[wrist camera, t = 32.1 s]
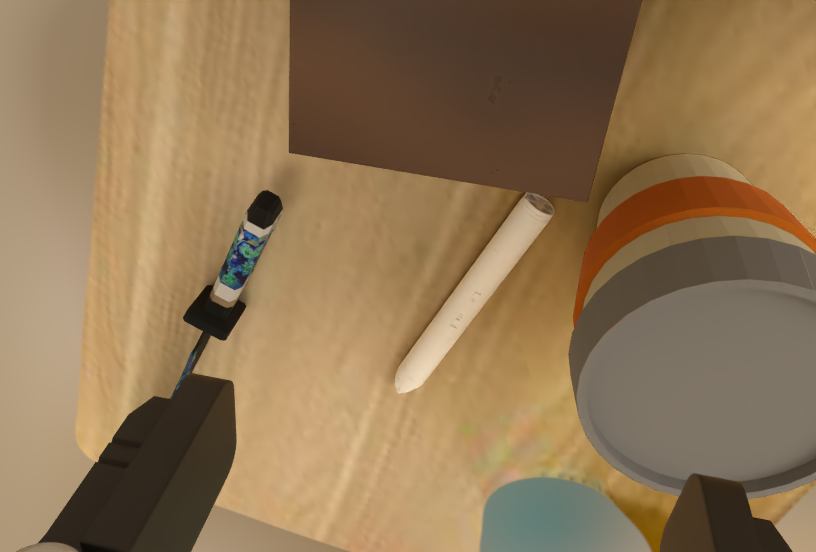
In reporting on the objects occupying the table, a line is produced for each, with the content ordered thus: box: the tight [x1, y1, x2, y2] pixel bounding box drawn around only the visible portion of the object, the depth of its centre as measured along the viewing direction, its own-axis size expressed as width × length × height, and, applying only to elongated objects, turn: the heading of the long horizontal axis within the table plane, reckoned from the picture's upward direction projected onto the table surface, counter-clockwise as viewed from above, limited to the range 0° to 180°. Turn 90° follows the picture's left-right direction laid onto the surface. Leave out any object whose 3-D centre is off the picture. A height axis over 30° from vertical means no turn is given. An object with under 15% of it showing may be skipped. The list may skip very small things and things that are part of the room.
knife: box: [171, 190, 283, 398], centre depth 51 cm, size 31×3×4 cm, turn 148°
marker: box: [395, 192, 555, 394], centre depth 47 cm, size 18×2×2 cm, turn 152°
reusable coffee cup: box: [569, 154, 816, 499], centre depth 36 cm, size 12×13×15 cm
